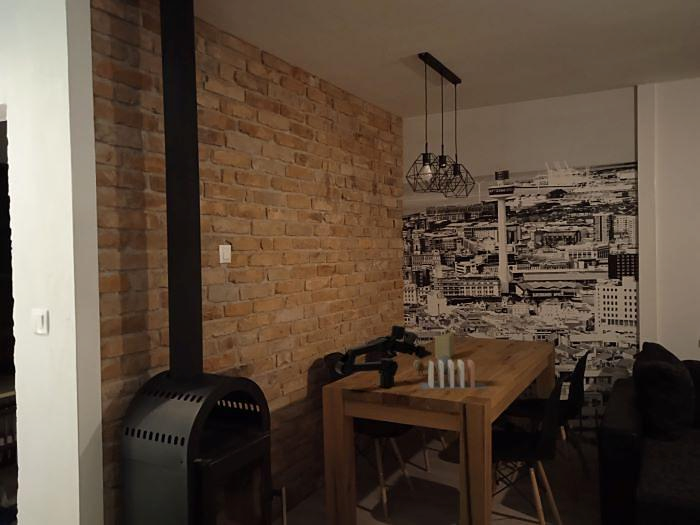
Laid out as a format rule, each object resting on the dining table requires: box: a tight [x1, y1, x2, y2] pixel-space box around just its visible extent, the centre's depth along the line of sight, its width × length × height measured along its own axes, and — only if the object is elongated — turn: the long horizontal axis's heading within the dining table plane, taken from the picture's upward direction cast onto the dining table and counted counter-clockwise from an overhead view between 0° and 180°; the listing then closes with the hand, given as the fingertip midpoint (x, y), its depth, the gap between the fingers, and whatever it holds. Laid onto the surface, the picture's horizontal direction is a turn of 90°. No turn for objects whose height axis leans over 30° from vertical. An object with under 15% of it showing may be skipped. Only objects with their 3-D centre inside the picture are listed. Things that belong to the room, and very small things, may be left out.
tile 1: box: [427, 359, 435, 388], centre depth 286 cm, size 2×10×12 cm, turn 179°
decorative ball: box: [435, 355, 455, 375], centre depth 316 cm, size 10×10×10 cm
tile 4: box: [457, 359, 465, 388], centre depth 285 cm, size 2×10×12 cm, turn 179°
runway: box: [419, 381, 488, 390], centre depth 285 cm, size 32×13×1 cm, turn 89°
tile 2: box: [437, 360, 445, 388], centre depth 285 cm, size 2×10×12 cm, turn 179°
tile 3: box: [447, 360, 455, 388], centre depth 285 cm, size 2×10×12 cm, turn 179°
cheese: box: [434, 331, 456, 360], centre depth 365 cm, size 22×10×15 cm, turn 152°
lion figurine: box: [413, 359, 438, 377], centre depth 311 cm, size 15×5×9 cm, turn 114°
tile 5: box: [467, 359, 476, 388], centre depth 285 cm, size 2×10×12 cm, turn 179°
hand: (426, 351), depth 296 cm, fingers open, 9 cm apart
